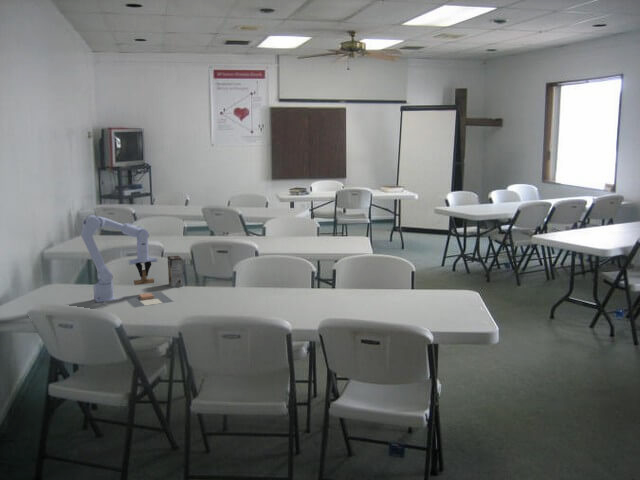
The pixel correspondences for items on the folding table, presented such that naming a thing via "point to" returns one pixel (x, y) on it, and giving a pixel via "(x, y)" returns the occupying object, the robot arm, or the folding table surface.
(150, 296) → the tile
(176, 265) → the coffee box
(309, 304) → the folding table surface
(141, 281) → the brown t-shaped block
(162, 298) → the slate board
